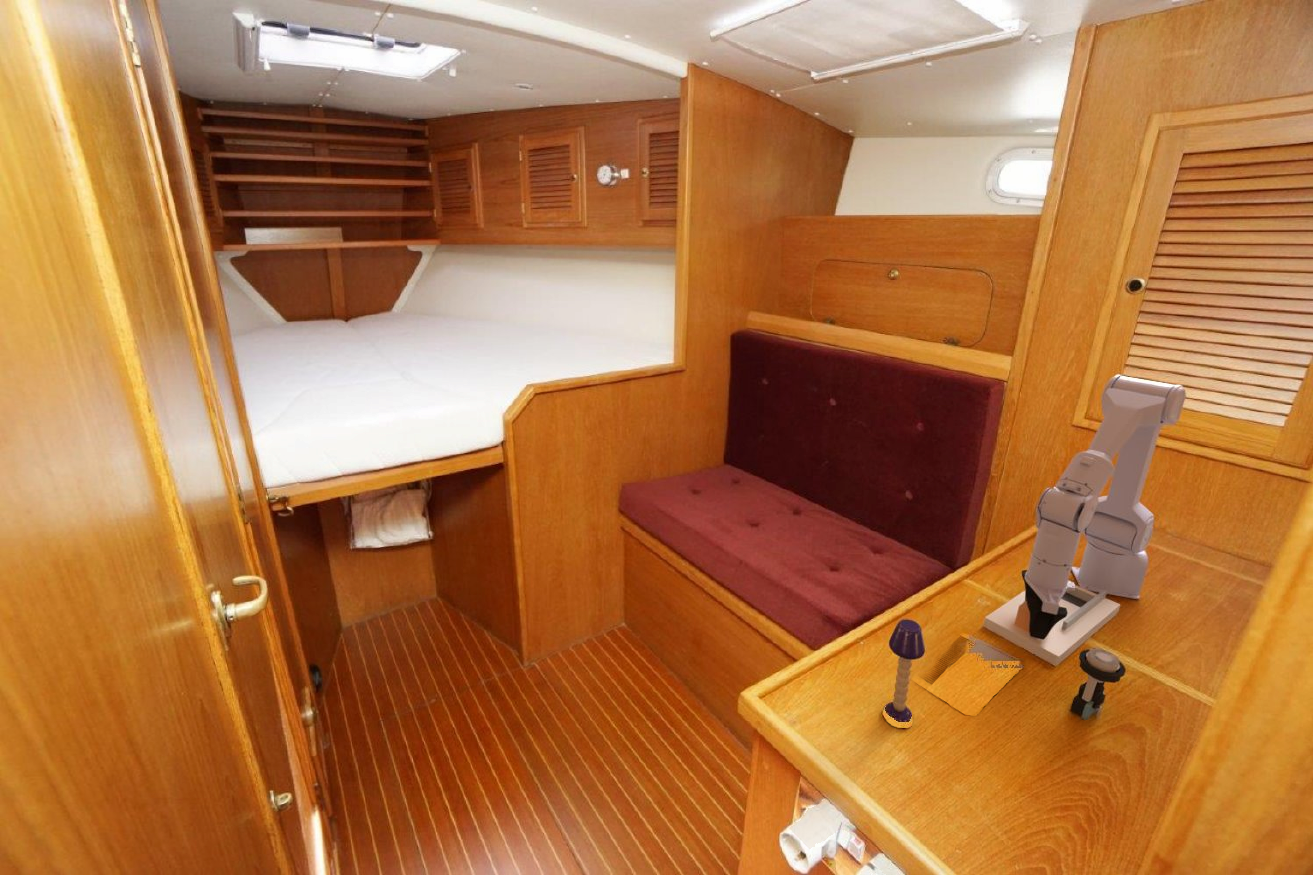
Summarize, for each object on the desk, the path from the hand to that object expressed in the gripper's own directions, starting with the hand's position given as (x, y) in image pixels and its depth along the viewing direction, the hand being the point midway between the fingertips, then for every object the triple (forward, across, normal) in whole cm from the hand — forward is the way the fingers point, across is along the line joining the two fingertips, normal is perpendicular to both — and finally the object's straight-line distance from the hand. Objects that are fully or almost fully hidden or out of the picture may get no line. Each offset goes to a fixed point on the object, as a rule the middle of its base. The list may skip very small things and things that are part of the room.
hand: (1034, 623), depth 100 cm
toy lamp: (+3, -30, +20) cm, 36 cm away
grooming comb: (+3, -15, +10) cm, 18 cm away
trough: (+2, +6, -4) cm, 8 cm away
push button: (+3, -15, -6) cm, 16 cm away
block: (0, 0, 0) cm, 1 cm away
